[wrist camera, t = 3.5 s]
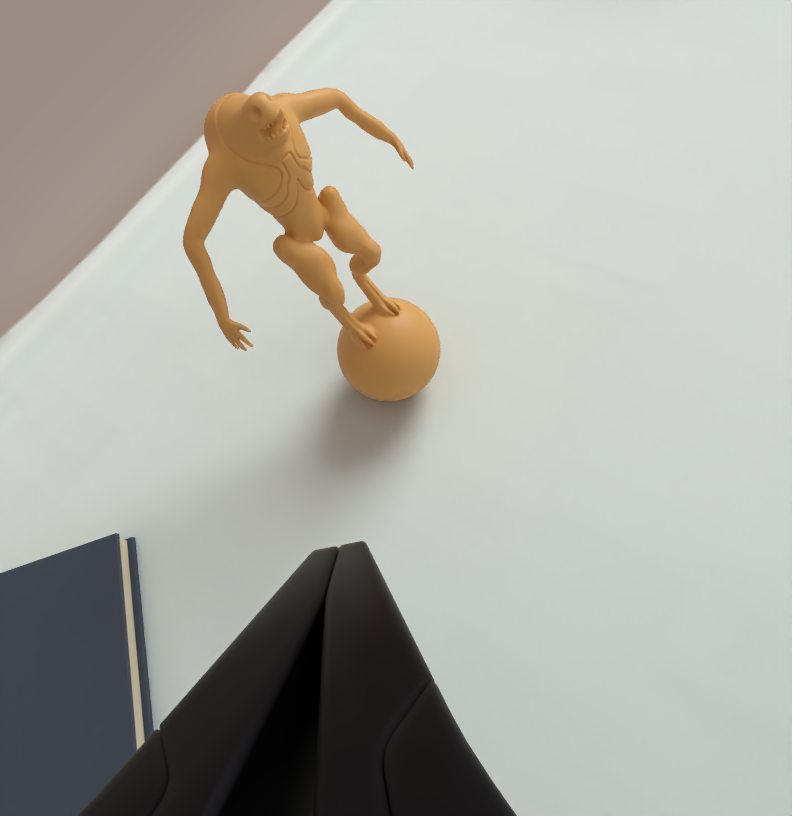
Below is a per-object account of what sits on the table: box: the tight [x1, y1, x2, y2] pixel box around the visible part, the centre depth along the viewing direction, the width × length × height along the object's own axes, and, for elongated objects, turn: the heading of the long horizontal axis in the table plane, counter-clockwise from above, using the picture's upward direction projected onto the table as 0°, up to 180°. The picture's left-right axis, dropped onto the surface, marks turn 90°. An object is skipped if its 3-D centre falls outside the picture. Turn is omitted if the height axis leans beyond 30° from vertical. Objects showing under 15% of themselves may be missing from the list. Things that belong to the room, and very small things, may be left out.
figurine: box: [183, 88, 440, 401], centre depth 17 cm, size 8×6×12 cm
